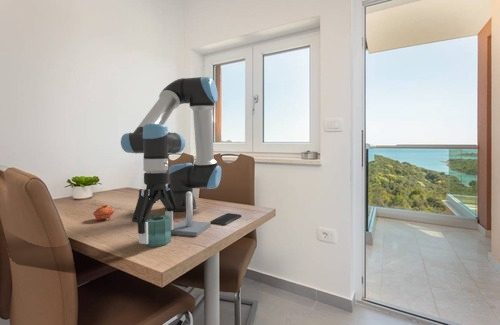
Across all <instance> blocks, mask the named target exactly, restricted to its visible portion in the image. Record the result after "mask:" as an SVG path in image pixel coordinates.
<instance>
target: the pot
mask: <svg viewBox="0 0 500 325" xmlns="http://www.w3.org/2000/svg"><path fill="white" fill-rule="evenodd" d="M114 213H115V209H114V208H113V207H111V206H109V205H108V204H107V205H100V206H98V208H96V210H94V212H93V216H94V217H95V220H96V221H97V222H98V221H99V219H101V220H105V219H107V220H108V221H111V217H112V216H113V214H114Z"/></svg>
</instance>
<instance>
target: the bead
mask: <svg viewBox="0 0 500 325" xmlns="http://www.w3.org/2000/svg"><path fill="white" fill-rule="evenodd" d="M146 222H148V244H145V246H146V247H151V248H158V247H164V246H166V245H168V244H169V243H171V242H172V236H171V235H172V234H171V226H170V217H169V216H165V214H164V215H161V214H160V215H152V216H151V215H150V216H148V218H147V220H146Z"/></svg>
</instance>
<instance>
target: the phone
mask: <svg viewBox="0 0 500 325" xmlns="http://www.w3.org/2000/svg"><path fill="white" fill-rule="evenodd" d="M240 218H242V214H238V213H232V212H228V213H224V214H222V215H220V216H218V217H216V218H213V219H211V220H210V221H209V222H211V225H216V226H227V225H229V224H231V223H233V222H235V221H237V220H238V219H240Z"/></svg>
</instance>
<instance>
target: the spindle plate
mask: <svg viewBox="0 0 500 325" xmlns="http://www.w3.org/2000/svg"><path fill="white" fill-rule="evenodd" d="M193 211H194V209H193V205H192V193H191V192H187V193H186V211H185V213H186V214H185V217H186V218H185V220H184V219H183V220H181V221H180V222H178V223H176V224H175V225H174V224H173V230H171V235H174V236H175V235H177V236H188V237H199V235H201V234H203V232H205V231H206V230H209V228H211V225H212V224H211V222H210V221H199V220H198V221H197V220H196V221H195V220H194V217H193Z"/></svg>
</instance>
